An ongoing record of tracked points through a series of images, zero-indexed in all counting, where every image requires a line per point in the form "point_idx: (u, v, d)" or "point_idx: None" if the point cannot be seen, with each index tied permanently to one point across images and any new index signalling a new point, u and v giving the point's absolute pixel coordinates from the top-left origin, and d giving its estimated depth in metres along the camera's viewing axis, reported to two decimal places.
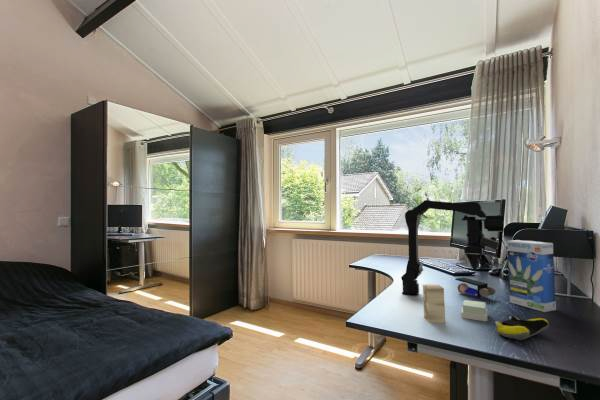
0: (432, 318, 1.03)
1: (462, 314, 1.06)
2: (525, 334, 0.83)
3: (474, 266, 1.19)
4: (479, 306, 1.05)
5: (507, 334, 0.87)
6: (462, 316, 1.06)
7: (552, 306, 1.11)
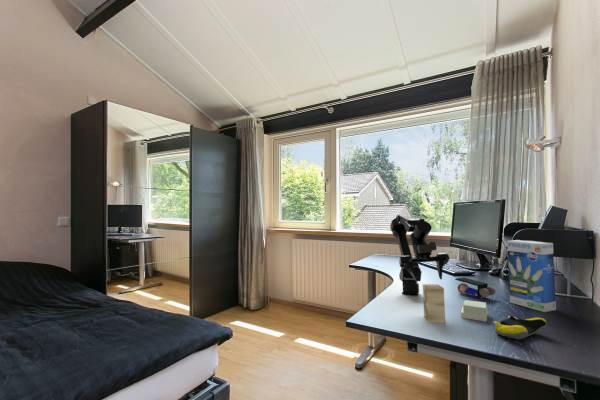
0: (432, 318, 1.03)
1: (462, 314, 1.07)
2: (523, 333, 0.84)
3: (414, 277, 1.17)
4: (480, 306, 1.05)
5: (506, 333, 0.87)
6: (462, 316, 1.07)
7: (552, 306, 1.11)
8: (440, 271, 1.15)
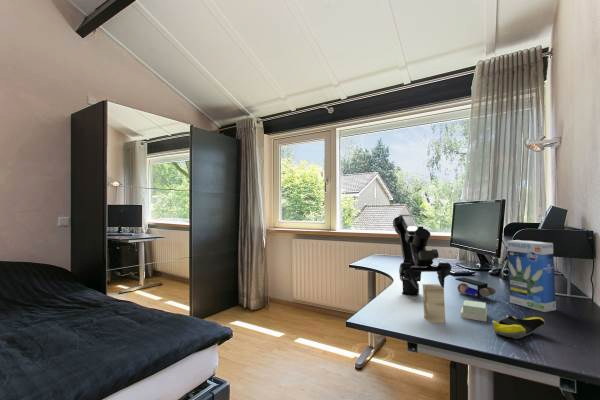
0: (432, 318, 1.03)
1: (461, 314, 1.07)
2: (521, 333, 0.84)
3: (414, 285, 1.11)
4: (479, 306, 1.05)
5: (504, 333, 0.88)
6: (461, 316, 1.07)
7: (552, 306, 1.11)
8: (442, 280, 1.10)
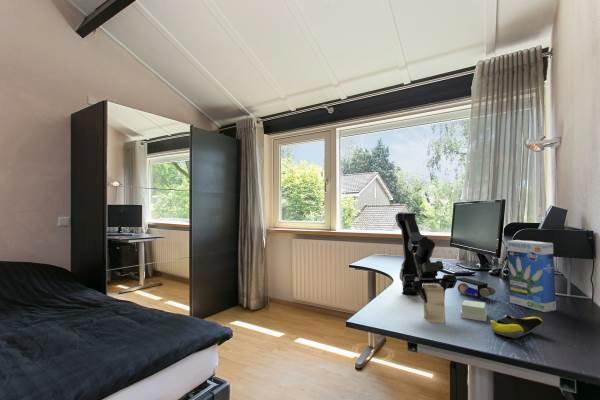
0: (432, 318, 1.03)
1: (461, 314, 1.07)
2: (519, 332, 0.85)
3: (423, 298, 1.06)
4: (478, 306, 1.05)
5: (502, 332, 0.88)
6: (461, 316, 1.07)
7: (552, 306, 1.11)
8: None
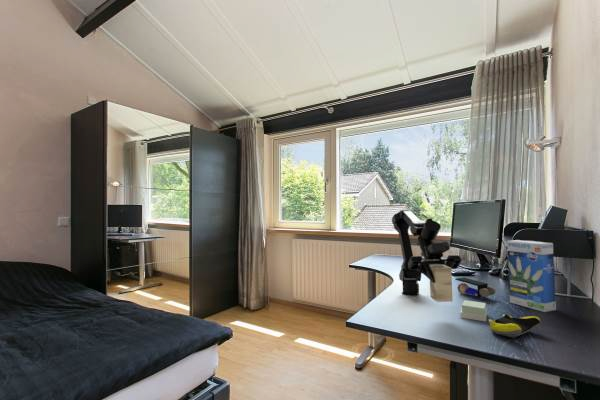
0: (440, 297, 1.04)
1: (461, 314, 1.07)
2: (517, 331, 0.85)
3: (431, 278, 1.07)
4: (478, 306, 1.05)
5: (500, 331, 0.89)
6: (461, 316, 1.07)
7: (552, 306, 1.11)
8: None
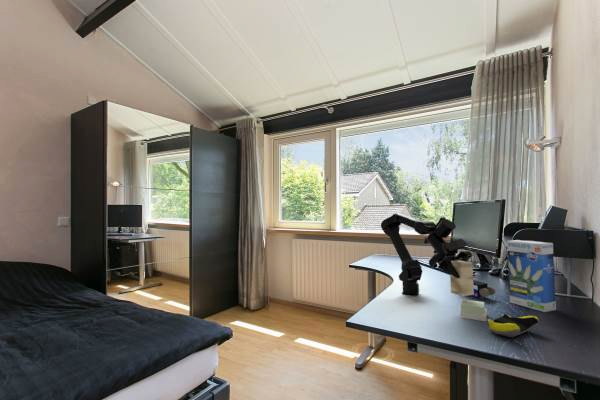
0: (465, 292, 1.09)
1: (461, 314, 1.07)
2: (516, 331, 0.85)
3: (455, 274, 1.11)
4: (477, 305, 1.05)
5: (499, 331, 0.89)
6: (461, 316, 1.07)
7: (552, 306, 1.11)
8: None
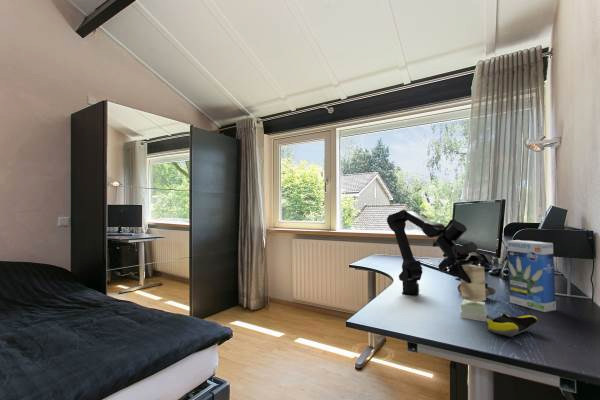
0: (477, 297, 1.05)
1: (461, 314, 1.07)
2: (514, 330, 0.86)
3: (466, 279, 1.07)
4: (477, 305, 1.05)
5: (497, 330, 0.90)
6: (461, 316, 1.07)
7: (552, 306, 1.11)
8: None
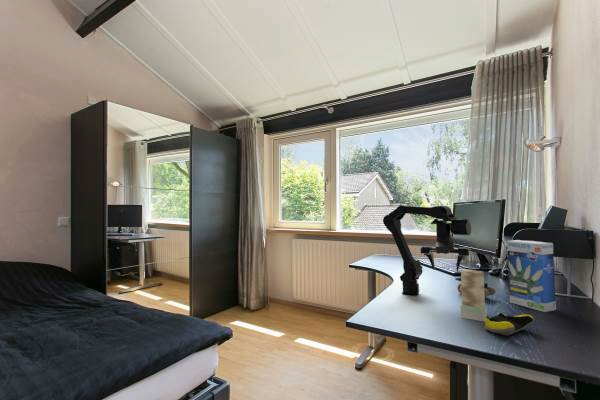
0: (479, 302, 1.05)
1: (461, 314, 1.06)
2: (510, 329, 0.87)
3: (432, 265, 1.30)
4: None
5: (494, 329, 0.91)
6: (461, 316, 1.06)
7: (552, 306, 1.11)
8: (457, 265, 1.24)
